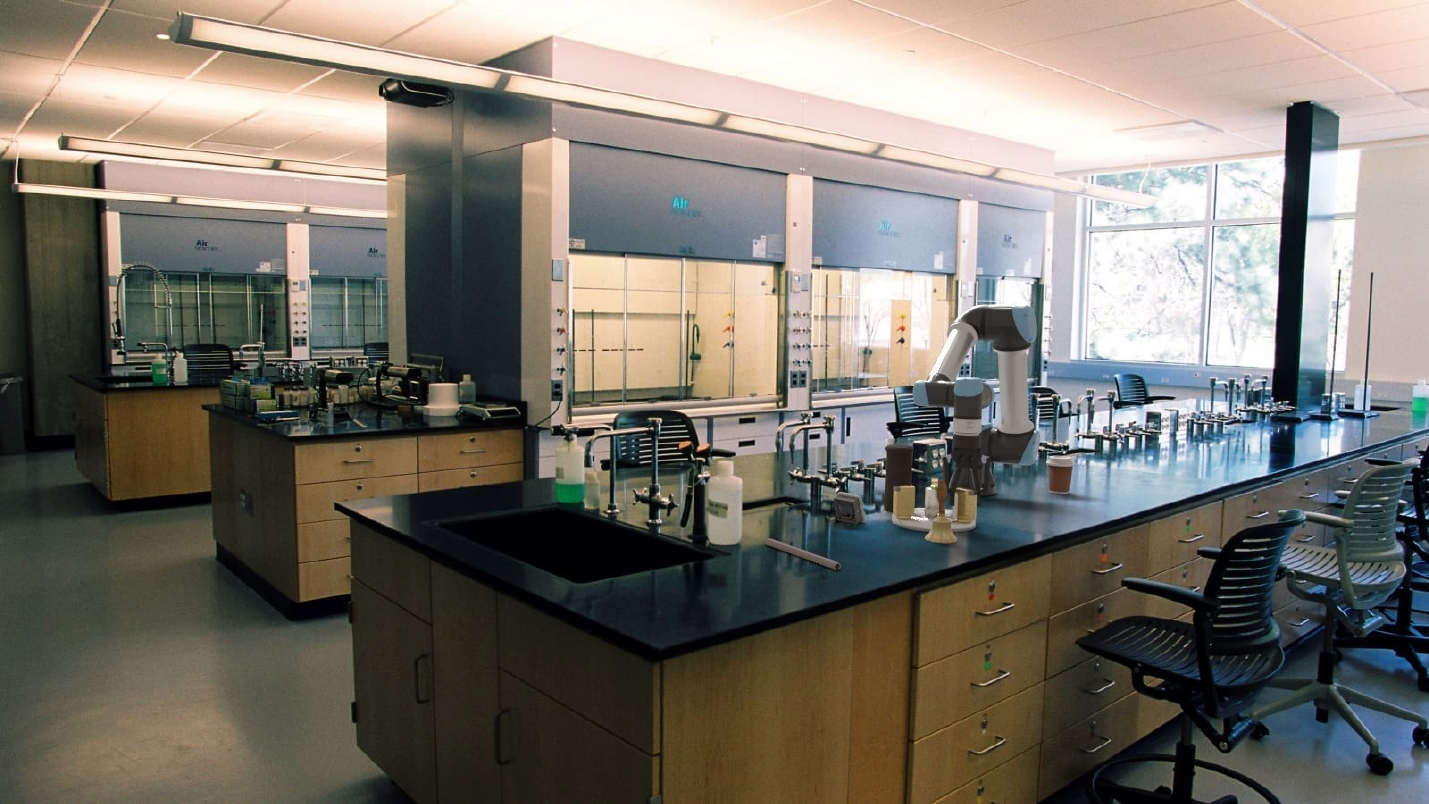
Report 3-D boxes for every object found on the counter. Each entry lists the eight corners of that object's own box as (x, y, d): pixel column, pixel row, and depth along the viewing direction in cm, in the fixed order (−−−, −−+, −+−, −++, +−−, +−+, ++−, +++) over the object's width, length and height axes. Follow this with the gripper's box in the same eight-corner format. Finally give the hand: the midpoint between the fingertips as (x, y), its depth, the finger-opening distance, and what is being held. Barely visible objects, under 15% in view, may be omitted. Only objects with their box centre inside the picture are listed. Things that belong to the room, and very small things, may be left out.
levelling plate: (880, 515, 265) (881, 479, 264) (953, 513, 269) (954, 477, 268) (910, 534, 242) (912, 494, 241) (990, 531, 246) (991, 492, 245)
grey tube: (834, 571, 207) (834, 563, 206) (765, 546, 229) (765, 538, 229) (840, 570, 208) (840, 562, 207) (771, 545, 230) (771, 537, 230)
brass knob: (941, 511, 261) (942, 481, 261) (926, 510, 262) (927, 480, 262) (941, 507, 267) (942, 478, 266) (926, 506, 268) (927, 477, 267)
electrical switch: (866, 522, 256) (864, 494, 254) (856, 526, 253) (854, 498, 251) (842, 518, 262) (841, 490, 260) (832, 522, 259) (831, 494, 257)
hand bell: (951, 545, 231) (953, 483, 229) (920, 540, 235) (922, 480, 234) (961, 538, 238) (963, 478, 236) (930, 534, 242) (932, 475, 241)
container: (915, 508, 276) (916, 443, 275) (908, 513, 268) (910, 447, 267) (887, 505, 280) (888, 441, 278) (879, 510, 272) (881, 445, 270)
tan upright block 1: (908, 515, 256) (909, 484, 255) (916, 518, 251) (917, 487, 251) (890, 516, 254) (891, 485, 253) (897, 519, 250) (898, 488, 249)
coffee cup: (1069, 490, 308) (1070, 455, 307) (1077, 495, 299) (1078, 459, 298) (1041, 489, 309) (1043, 455, 308) (1048, 494, 300) (1050, 459, 299)
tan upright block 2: (950, 520, 250) (952, 488, 249) (960, 518, 252) (961, 487, 252) (968, 524, 245) (969, 492, 244) (978, 522, 248) (979, 490, 247)
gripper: (937, 435, 243) (934, 520, 245) (1003, 436, 242) (999, 521, 244) (932, 431, 251) (929, 514, 253) (996, 432, 250) (992, 515, 252)
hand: (964, 517), depth 249 cm, fingers closed on tan upright block 2, 4 cm apart
